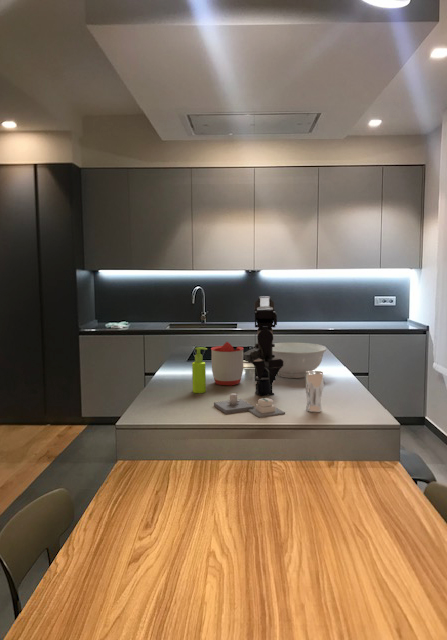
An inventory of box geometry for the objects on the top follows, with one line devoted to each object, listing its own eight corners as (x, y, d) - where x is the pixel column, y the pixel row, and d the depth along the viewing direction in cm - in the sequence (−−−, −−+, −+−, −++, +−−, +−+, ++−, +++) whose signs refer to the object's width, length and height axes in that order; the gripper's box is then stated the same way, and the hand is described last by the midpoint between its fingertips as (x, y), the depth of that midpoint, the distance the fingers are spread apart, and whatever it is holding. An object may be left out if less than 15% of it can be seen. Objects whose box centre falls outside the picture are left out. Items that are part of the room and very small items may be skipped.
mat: (271, 406, 203) (271, 405, 203) (285, 413, 193) (285, 412, 193) (246, 409, 199) (246, 408, 199) (259, 417, 189) (259, 416, 189)
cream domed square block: (255, 409, 197) (255, 398, 197) (268, 407, 199) (268, 396, 199) (262, 413, 192) (261, 402, 192) (275, 411, 194) (275, 400, 194)
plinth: (241, 402, 209) (240, 389, 209) (253, 410, 198) (253, 396, 198) (213, 405, 205) (213, 392, 204) (225, 413, 194) (225, 399, 193)
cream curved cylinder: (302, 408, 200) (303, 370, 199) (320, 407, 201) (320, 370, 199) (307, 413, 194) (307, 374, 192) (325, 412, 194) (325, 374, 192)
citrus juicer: (250, 380, 249) (250, 339, 246) (236, 388, 233) (235, 345, 231) (221, 377, 255) (220, 338, 253) (205, 385, 239) (205, 343, 237)
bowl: (307, 366, 279) (307, 340, 278) (337, 379, 249) (338, 349, 247) (252, 371, 270) (252, 343, 268) (277, 384, 239) (277, 354, 237)
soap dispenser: (206, 393, 224) (205, 348, 222) (191, 392, 226) (190, 348, 224) (209, 390, 230) (208, 346, 228) (194, 389, 231) (193, 346, 229)
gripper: (235, 339, 198) (235, 378, 200) (257, 346, 181) (257, 389, 183) (261, 337, 203) (261, 375, 204) (284, 344, 186) (284, 386, 187)
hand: (265, 381), depth 195 cm, fingers open, 9 cm apart
